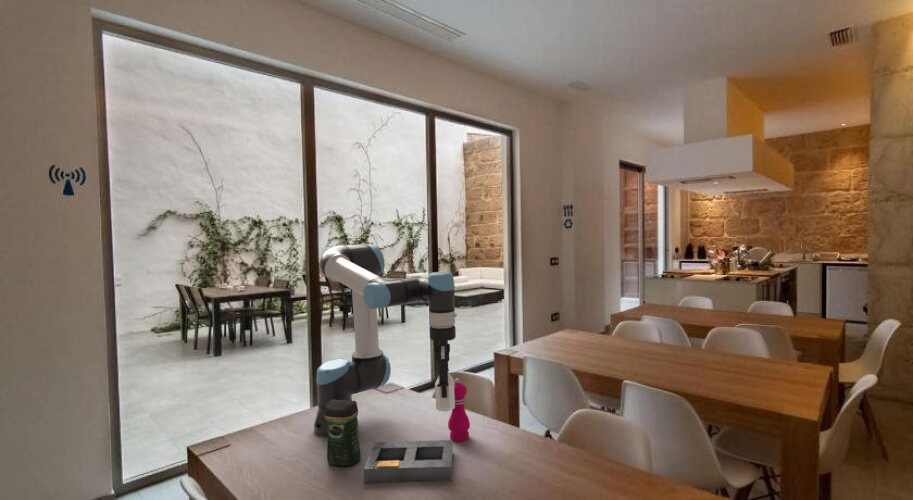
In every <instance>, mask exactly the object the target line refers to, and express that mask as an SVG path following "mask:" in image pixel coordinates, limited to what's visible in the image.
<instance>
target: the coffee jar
mask: <svg viewBox="0 0 913 500" xmlns="http://www.w3.org/2000/svg"><path fill="white" fill-rule="evenodd" d="M358 415H359V408H358V402H357V401H356V400H352V401H346V400H335V399H333V400H331V401H330V402H328V403H327V404H326V406H325V419H326V422H327V431H328V437H327V447H326V449H327V450H326V460H327V461H326V462H327V463H328V464H329V465H331V466H336V467H350V466H353V465H355V464H356V463H358V461H359V460H360V458H361V456H362V455H361V453H362V452H361V445H360V439H359V432H358V427H357V418H358Z"/></svg>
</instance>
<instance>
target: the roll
mask: <svg viewBox="0 0 913 500" xmlns="http://www.w3.org/2000/svg"><path fill="white" fill-rule="evenodd" d="M449 372H450V371H449ZM449 372H448V383H449V408H440V393H439V387H437V384H439V376H438V377H437V379H436V381H435V383H434V392H435V393H434V394H435V408H436V410H437V411H438V412H450V411H452V410H453V409H454V408H455V396H454V383H455V379H454V378H453V376H452V374H451V375H450V374H449Z"/></svg>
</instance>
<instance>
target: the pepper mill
mask: <svg viewBox="0 0 913 500" xmlns="http://www.w3.org/2000/svg"><path fill="white" fill-rule="evenodd" d="M467 390H468V389H467V386H466V385H465V384H464V383H463V382H461V380H460V379H459V378H458V377H457V378H455V379H454V396H455V408H454V409H453V410H451V414H450V416H449V419H448V422H447V423H448V424H447V426H448V430H449V431H450V432H449V440H452V442H455V443H462V442H465V441H468V440H469V438H470V432H469V429H470V427H471V423H470V419H469V416H468V414H467V413H466V410H465V404H466V401H467V400H466V399H467V398H466V396H467Z"/></svg>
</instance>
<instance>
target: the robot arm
mask: <svg viewBox="0 0 913 500" xmlns="http://www.w3.org/2000/svg"><path fill="white" fill-rule="evenodd" d="M385 264H386V263H385V258H384V255H383V252H382V250H381V248H379V246H378V245H376V244H373V243H361V244H360V243H359V244H347V245H336V246H333V247H331V248H329V249H327V250H326V251H325V252H324V253H323V254H322V256H321V257H320V260H319V268H320V272H321V273H322V274H323V276H324V277H325V278H326V279H329V280H330V281H332V282H339V283H340V284H343V285H344V286H346V287H347V288H349V289H351V295H352V296H351V297H352V298H351V299H352V311H353V312H352V315H353V329H354V345H355V346H354V347H355V350H354V351H353V353H352V354H351V361H350V359H347V358H339V359H337V358H336V359H332V360H329V361H326V362H324V363H322V364H321V365H320V366H318V368H317V370H316V391H317V392H316V393H317V406H318V407H317V413H316V416H315V420H314V423H313V430H314V434H316V435H318V436H319V437H323V438H324V437H326V438H328V431H327V422H326V419H325V406H326V404H327V403H328V402H330V401H331V400H333V399H335V400H346V401H353V399H352V396H353V395H357V394H360V393H363V392H367V391H371V390H377V389H378V388H381V387H383V386H385V385H386V384H387V383H388V382H389V380H390V377H391V371H392V370H391V369H392V367H391V363H390V359H389V357H387V355H386V354H384V350H382V349H381V348H380V347H379V345H380V343H379V341H380V340H379V329H378V328H379V327H378V323H379V322H378V311H377V309H385V308H391V307H397V306H402V305H409V304H414V303H426V304H428V319H429V320H428V321H429V322H428V323H429V325H430V327H429V339H430V340H431V341H434V342H438V343H436V347H435V348H436V349H435V352H436V354H437V355H436V356H437V357H436V359H437V362H438V377H439V384H437V387H439V393H440V408H449V383H448V372H450V368H449V362H450V351H451V344H450V343H449V341H453V340H455V339H456V337H457V334H456V326H455V324H456V318H457V317H458V314H457V313H456V311H455V310H456V309H455V308H456V306H455V305H456V303H455V302H456V301H455V298H456V297H455V287H456V285H455V280H454V279H455V278H454V274H453V273H452V272H449V271H435V272H431V273H429V274H428V275H427V277H426V276H422V275H413V276H409V277H408V278H401V279H400V278H399V279H391V280H387V279H385V278H383V277H381V276H380V275H381V274H383V272H384V270H385V266H386V265H385ZM449 374H450V375H451V376H452V372H450V373H449ZM358 426H359V419H358V417H357V428H358Z"/></svg>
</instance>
